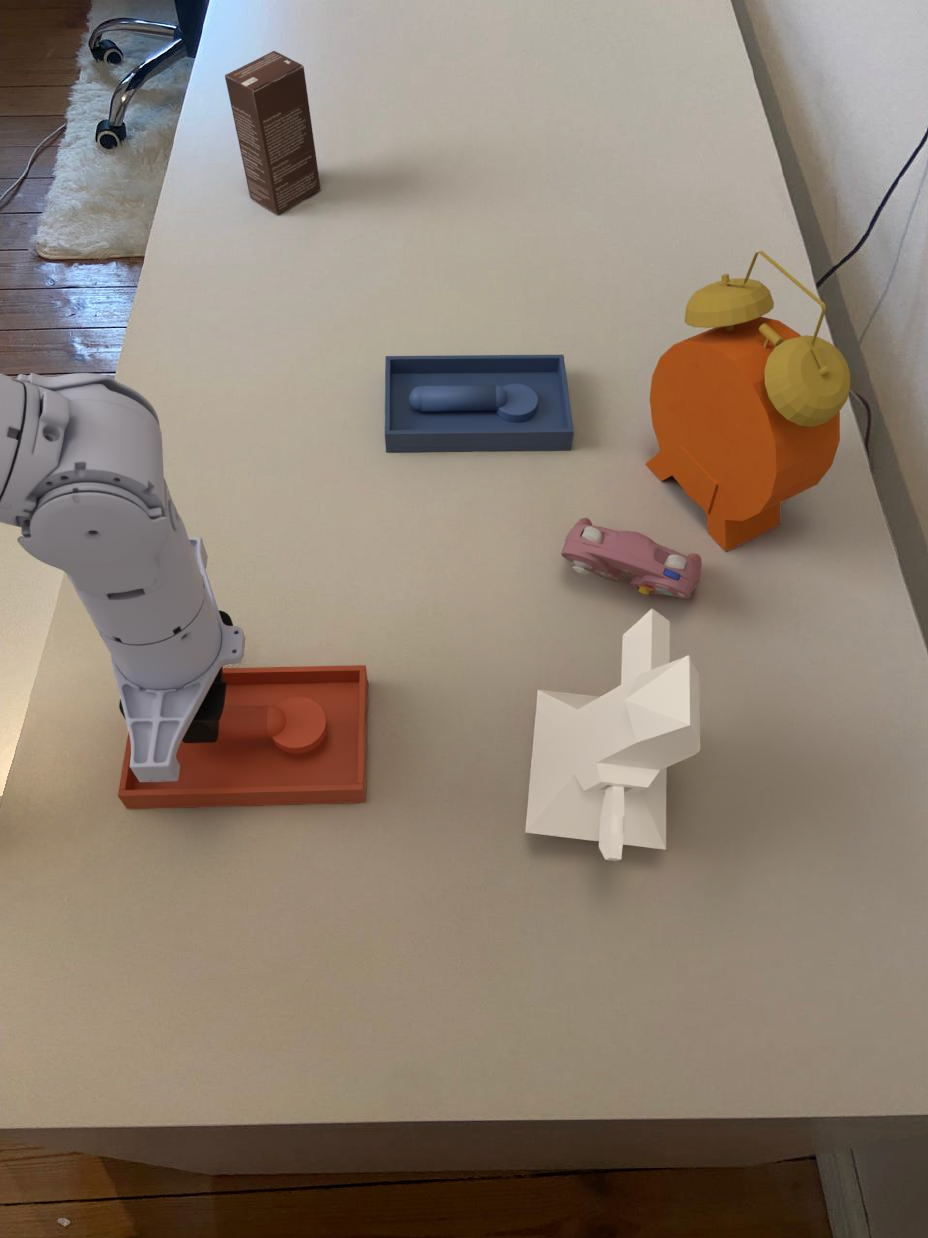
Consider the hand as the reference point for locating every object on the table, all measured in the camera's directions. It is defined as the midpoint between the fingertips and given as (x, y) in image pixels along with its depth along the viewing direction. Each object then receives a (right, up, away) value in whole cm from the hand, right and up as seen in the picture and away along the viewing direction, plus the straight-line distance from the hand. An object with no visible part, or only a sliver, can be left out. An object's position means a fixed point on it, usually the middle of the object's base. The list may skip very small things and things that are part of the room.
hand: (202, 720), depth 60 cm
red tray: (+2, -2, +3) cm, 4 cm away
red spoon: (+3, -1, +1) cm, 3 cm away
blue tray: (+17, +23, +19) cm, 35 cm away
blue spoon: (+17, +24, +19) cm, 35 cm away
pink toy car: (+28, +9, +11) cm, 32 cm away
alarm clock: (+36, +16, +15) cm, 42 cm away
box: (-2, +48, +35) cm, 60 cm away
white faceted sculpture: (+24, -5, +2) cm, 25 cm away
